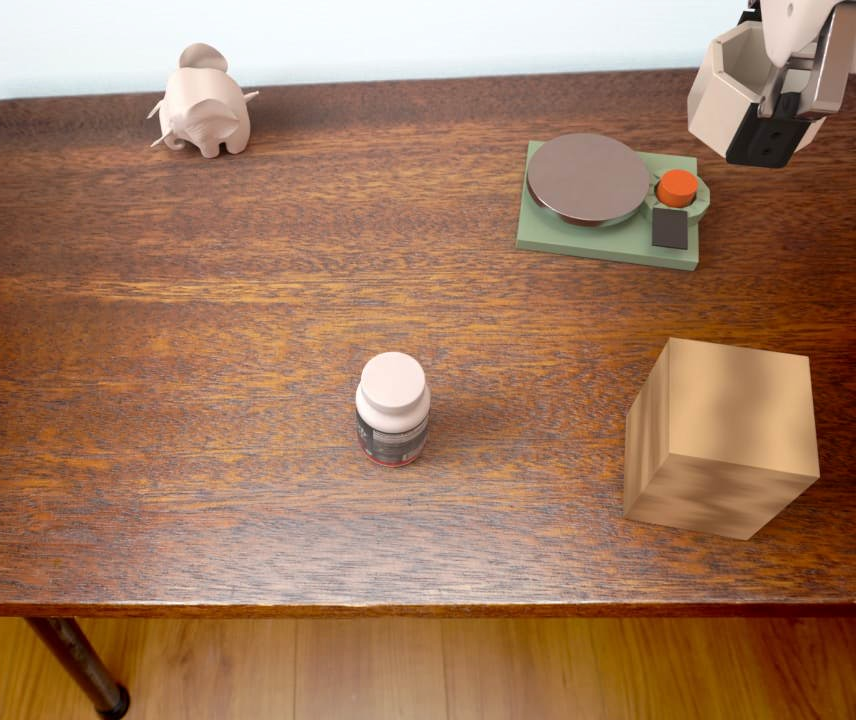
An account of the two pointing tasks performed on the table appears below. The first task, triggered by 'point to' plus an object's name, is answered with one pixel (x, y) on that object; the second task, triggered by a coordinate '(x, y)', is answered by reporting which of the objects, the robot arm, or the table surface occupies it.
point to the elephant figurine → (203, 104)
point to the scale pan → (598, 186)
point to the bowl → (736, 85)
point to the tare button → (677, 188)
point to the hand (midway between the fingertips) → (750, 114)
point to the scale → (625, 237)
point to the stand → (719, 439)
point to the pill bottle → (392, 409)
